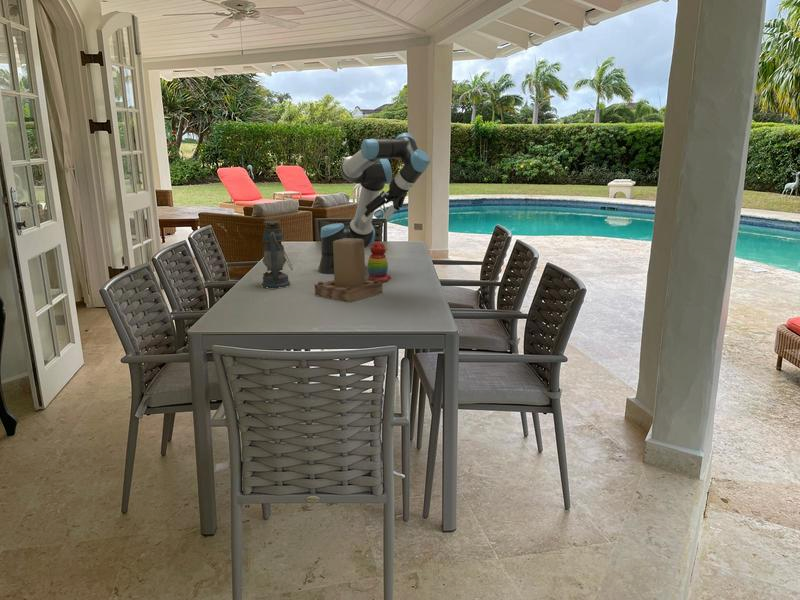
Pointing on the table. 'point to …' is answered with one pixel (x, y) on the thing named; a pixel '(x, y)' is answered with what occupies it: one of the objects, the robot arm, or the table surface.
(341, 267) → the wooden block
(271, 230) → the lantern
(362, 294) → the base plate
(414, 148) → the robot arm
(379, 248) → the stacking bear
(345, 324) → the table surface
